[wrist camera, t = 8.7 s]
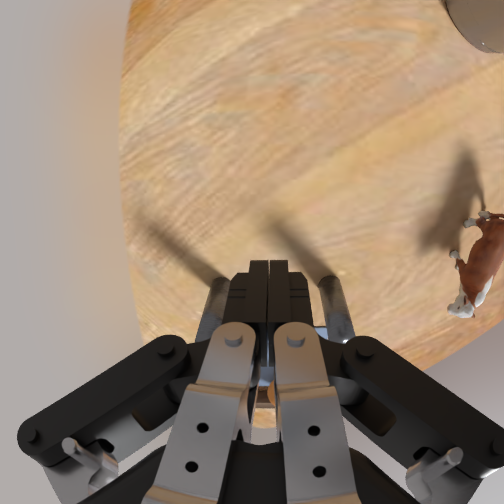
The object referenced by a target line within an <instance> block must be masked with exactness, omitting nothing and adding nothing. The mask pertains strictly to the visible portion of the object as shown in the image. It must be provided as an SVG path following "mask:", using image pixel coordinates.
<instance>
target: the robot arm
mask: <svg viewBox="0 0 504 504" xmlns="http://www.w3.org/2000/svg"><path fill="white" fill-rule="evenodd" d="M446 4H447V8H448V11H449V14H450V16H451V18H452V20H453V22H454V23H455V25H456V27H457V28H458V30H459V31H460V32H461V34H462V35H463V36H464V37H465V38H466V39H467V40H468V41H469V42H470V43H471V44H472V45H473V46H475V47H476V48H478V49H479V50H481V51H483V52H487V53H504V0H446ZM268 351H269V367H274V397H275V412H276V429H277V442H275V443H270V444H266V445H254V444H251V433H252V424H253V418H254V412H255V407H256V400H257V394H258V388H259V380H260V374H261V367H267V354H268ZM342 416H343V417H345V418H346V419H347V420H348V421H349V422H351V424H353V425H354V426H355V427H356V428H358V429H359V430H360V431H361V432H362V433H363V434H364V435H366V436H367V437H368V438H369V439H370V440H371V441H373V442H374V443H375V444H376V445H378V446H379V447H380V448H381V449H382V450H384V451H385V452H386V453H387V454H389V455H390V456H391V457H392V458H394V459H395V460H396V461H397V462H399V463H400V464H401V465H402V466H404V467H405V468H406V469H408V470H407V473H406V485H407V487H408V489H409V490H410V491H411V492H412V493H413V494H414V496H415V498H413V497H412V496H411V495H410V494H409V493H407V492H406V491H405V490H404V489H403V488H401V487H400V486H399V485H398V484H397V483H396V482H394V481H393V480H392V479H391V478H390V477H389V476H388V475H386V474H385V473H384V472H383V471H382V470H381V469H380V468H378V467H377V466H376V465H375V464H374V463H373V462H372V461H371V460H370V459H369V458H367V457H366V456H365V455H363V454H362V453H360V452H359V451H357V450H354V449H353V448H350V447H348V442H347V437H346V432H345V427H344V422H343V417H342ZM172 425H173V427H172V430H171V433H170V436H169V439H168V442H167V444H166V445H164V446H162V447H160V448H158V449H156V450H154V451H153V452H152V453H150V454H149V455H148V456H146V457H145V458H144V459H142V460H141V461H140V462H138V463H137V464H136V465H134V466H133V467H131V468H130V469H129V470H127V471H126V472H124V473H123V474H122V475H120V476H119V477H118V463H119V462H121V461H122V460H124V459H125V458H127V457H128V456H130V455H131V454H133V453H134V452H136V451H137V450H139V449H140V448H142V447H143V446H145V445H146V444H147V443H149V442H150V441H152V440H153V439H154V438H156V437H157V436H158V435H160V434H161V433H163V432H164V431H165V430H167V429H168V428H169V427H171V426H172ZM17 440H18V445H19V447H20V448H21V450H22V451H23V452H24V453H25V454H27V455H28V456H30V457H31V458H33V459H34V460H36V461H37V462H38V463H39V464H40V465H41V466H42V467H43V469H44V471H45V473H46V475H47V477H48V479H49V481H50V483H51V485H52V487H53V489H54V491H55V493H56V495H57V496H58V498H59V500H60V502H61V503H62V504H467V503H468V502H469V500H470V499H471V497H472V496H473V494H474V493H475V491H476V490H477V488H478V486H479V485H480V483H481V482H482V480H483V479H484V478H485V477H486V476H488V475H490V474H491V473H493V472H495V471H496V470H498V469H499V468H501V467H503V466H504V429H503V428H502V427H501V426H499V425H498V424H496V423H495V422H493V421H492V420H491V419H489V418H488V417H486V416H485V415H484V414H482V413H481V412H479V411H478V410H476V409H475V408H473V407H472V406H471V405H469V404H468V403H466V402H465V401H464V400H462V399H461V398H459V397H458V396H456V395H455V394H454V393H452V392H451V391H449V390H448V389H447V388H445V387H444V386H442V385H441V384H439V383H438V382H436V381H435V380H434V379H432V378H431V377H429V376H428V375H427V374H425V373H424V372H422V371H421V370H419V369H418V368H417V367H415V366H414V365H412V364H411V363H410V362H408V361H407V360H405V359H404V358H402V357H401V356H400V355H398V354H397V353H395V352H394V351H392V350H391V349H390V348H388V347H387V346H385V345H384V344H382V343H381V342H380V341H378V340H377V339H375V338H372V337H369V336H356V337H353V338H351V339H350V340H348V341H347V342H346V343H345V344H342V343H337V342H333V341H329V340H327V339H325V338H323V337H322V336H320V335H319V334H318V333H317V332H316V330H315V328H314V325H313V317H312V310H311V303H310V298H309V290H308V282H307V279H306V278H305V277H304V275H303V274H302V273H301V272H288V260H270V271H269V262H268V260H251V261H250V267H249V273H237V274H236V275H235V276H234V277H233V278H232V280H231V282H230V286H229V291H228V296H227V300H226V305H225V310H224V315H223V319H222V324H221V326H219V327H218V328H217V329H216V330H215V331H214V332H213V335H212V337H211V338H209V339H207V340H204V341H200V342H196V343H190V344H186V342H185V341H184V340H183V339H182V338H181V337H179V336H176V335H163V336H160V337H157V338H156V339H154V340H152V341H151V342H149V343H148V344H146V345H145V346H143V347H142V348H140V349H139V350H137V351H136V352H134V353H132V354H131V355H129V356H128V357H126V358H125V359H123V360H122V361H120V362H118V363H117V364H115V365H114V366H112V367H111V368H109V369H108V370H106V371H104V372H103V373H101V374H100V375H98V376H96V377H95V378H93V379H92V380H90V381H89V382H87V383H85V384H84V385H82V386H81V387H79V388H77V389H76V390H74V391H73V392H71V393H69V394H68V395H66V396H65V397H63V398H61V399H60V400H58V401H57V402H55V403H53V404H52V405H50V406H49V407H47V408H45V409H43V410H42V411H40V412H39V413H37V414H35V415H34V416H32V417H30V418H29V419H27V420H26V421H24V422H23V423H22V425H21V426H20V428H19V430H18V434H17Z"/></svg>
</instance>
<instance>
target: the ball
mask: <svg viewBox="0 0 504 504" xmlns="http://www.w3.org/2000/svg"><path fill="white" fill-rule="evenodd" d="M267 395H268V398H269V401H270V402H271V403H272V404H273V405H274V406H275V397H274V380H273V381H272V382H271V383H270V385H269V387H268V391H267Z"/></svg>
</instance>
